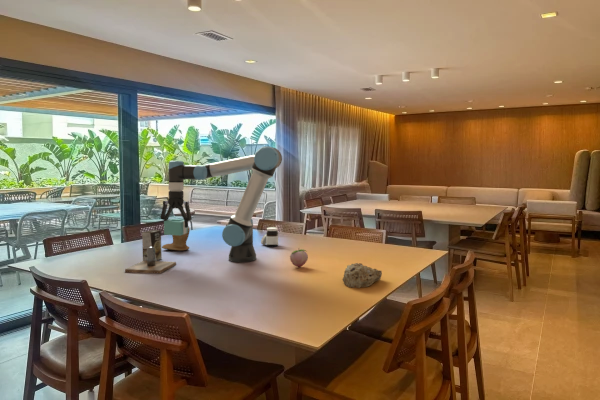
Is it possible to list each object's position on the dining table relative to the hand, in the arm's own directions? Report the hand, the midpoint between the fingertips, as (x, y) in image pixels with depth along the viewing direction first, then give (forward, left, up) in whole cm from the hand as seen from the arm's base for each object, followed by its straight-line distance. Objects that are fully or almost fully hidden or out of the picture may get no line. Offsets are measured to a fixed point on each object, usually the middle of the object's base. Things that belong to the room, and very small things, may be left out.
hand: (176, 233), depth 222 cm
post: (+8, +12, -16) cm, 22 cm away
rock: (-97, +24, -17) cm, 101 cm away
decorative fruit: (-65, 0, -16) cm, 67 cm away
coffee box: (+16, -5, -16) cm, 23 cm away
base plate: (+8, +12, -16) cm, 22 cm away
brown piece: (+14, -34, -16) cm, 40 cm away
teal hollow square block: (0, 0, 0) cm, 0 cm away
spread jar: (-39, -55, -16) cm, 69 cm away
